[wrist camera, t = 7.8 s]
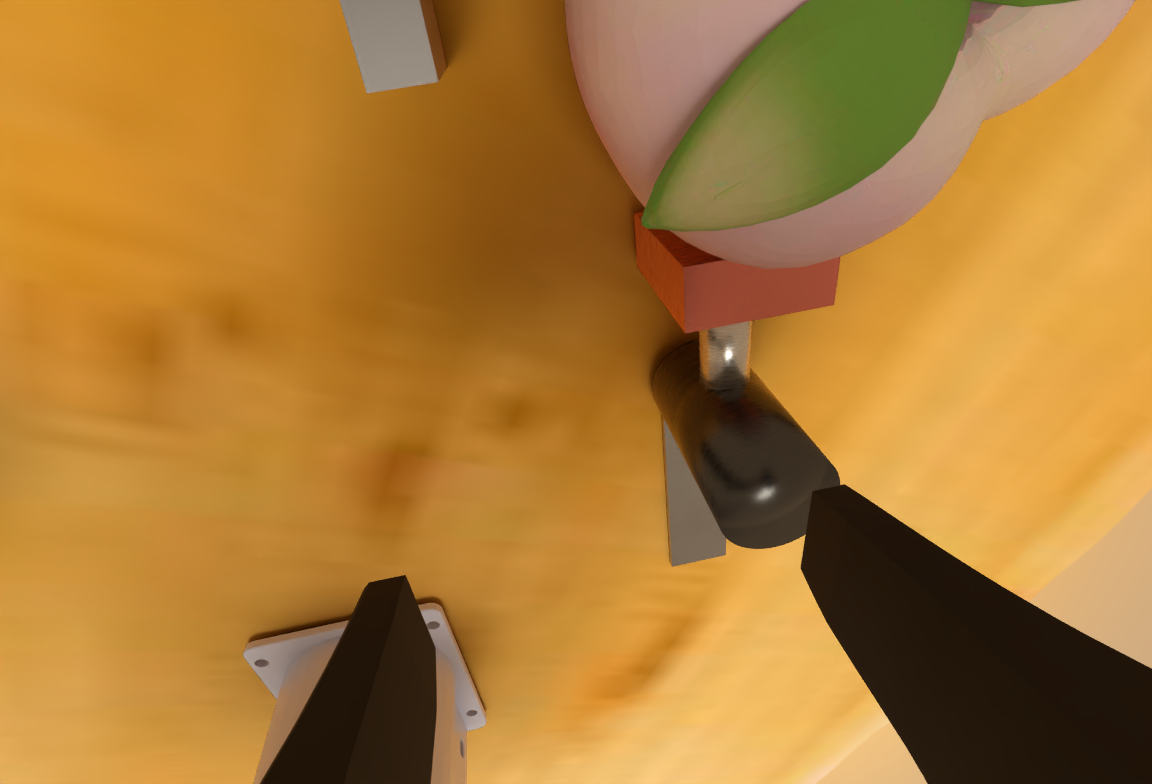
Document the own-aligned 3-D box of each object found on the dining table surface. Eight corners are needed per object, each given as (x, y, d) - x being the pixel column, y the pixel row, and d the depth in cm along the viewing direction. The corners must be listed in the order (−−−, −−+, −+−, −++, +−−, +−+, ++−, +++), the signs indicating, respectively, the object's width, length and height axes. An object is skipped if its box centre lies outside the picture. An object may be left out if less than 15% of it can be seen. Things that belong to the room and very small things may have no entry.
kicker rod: (747, 409, 20) (839, 532, 15) (649, 429, 20) (709, 561, 15) (757, 191, 16) (887, 262, 11) (633, 213, 16) (710, 296, 11)
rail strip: (722, 549, 25) (725, 555, 25) (669, 561, 25) (671, 566, 24) (726, 376, 20) (729, 380, 20) (659, 389, 20) (662, 393, 20)
